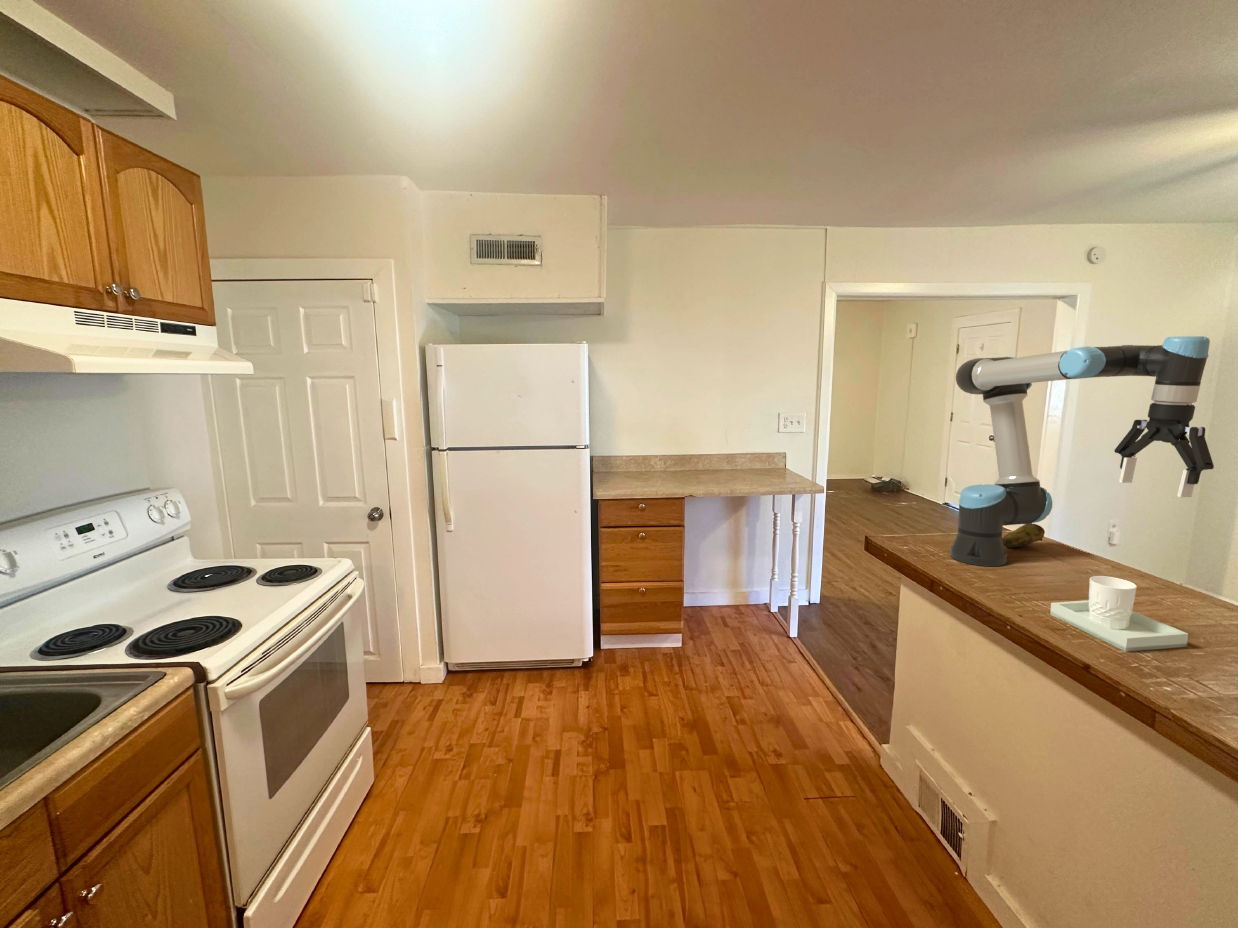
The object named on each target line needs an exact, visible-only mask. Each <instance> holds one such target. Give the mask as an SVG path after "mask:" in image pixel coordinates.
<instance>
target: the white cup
mask: <svg viewBox="0 0 1238 928" xmlns="http://www.w3.org/2000/svg"><path fill="white" fill-rule="evenodd" d="M1088 585H1089V586H1088V587H1089V588H1088V600H1089V619H1092V620H1094V621H1096V622H1098V623H1100V624H1102V625H1104V626H1107V627H1109V628H1111V629H1126V628H1128V627H1129V621H1130V616H1131V614H1132V611H1133V609H1134V604H1135V598H1136V593H1137V589H1138V588H1137V587H1138V586H1137V585H1136V584H1135V583H1134V582H1132V581H1130V580H1126V579H1124V578H1123V579H1122V578H1117V577H1114V576H1106V575H1105V576H1104V575H1093V576H1091V577H1090V578H1089V583H1088Z"/></svg>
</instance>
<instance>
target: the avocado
mask: <svg viewBox="0 0 1238 928" xmlns="http://www.w3.org/2000/svg"><path fill="white" fill-rule="evenodd" d="M1045 533H1046V531H1045V529H1044V527H1042V526H1041V525H1039V524H1036V523H1031V524H1022V526H1019V527H1017V528H1016V529H1015V530H1013V531H1011V532H1009V533H1007V534H1005V535H1004V536H1002V540H1003V543H1004V547H1005V548H1006V549H1007V548H1008V549H1009V548H1010V549H1011V548H1012V549H1013V548H1022V547H1025V546H1026V547H1027V546H1028V545H1031V544H1033V543H1037V542H1039V541H1040V542H1042V541H1043V539H1044V537H1045Z"/></svg>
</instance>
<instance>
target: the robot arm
mask: <svg viewBox="0 0 1238 928" xmlns="http://www.w3.org/2000/svg"><path fill="white" fill-rule="evenodd" d="M1210 342H1211V340H1210V338H1209V337H1207V336H1204V335H1203V336H1195V335H1192V336H1188V335H1187V336H1169V337H1168V336H1167V337H1166V338H1165V339H1164V340H1163V343H1162V344H1161V345H1159V344H1158V345H1150V344H1149V345H1147V344H1146V345H1139V344H1135V345H1133V344H1122V345H1114V346H1112V345H1110V346H1081V347H1080V346H1079V347H1075V348H1071V349H1069V350H1061V351H1055V352H1047V353H1042V354H1034V355H1028V356H1026V355H1025V356H1021V357H1020V356H1019V357H1016V356H1015V357H1014V356H1013V357H1012V356H1003V357H1002V356H1000V357H999V356H998V357H981V358H980V357H978V358H973V359H970V360H967V361H965V362H964V363H962V364H961V365H960V366H959V367H958V369H957V371H956V374H955V382H956V385H957V386H958V388H959V389H960V390H961V391H962V392H964V393H967V394H970V395H982V400H983V403H985V404H987V405H988V407H989V411H990V417H991V425H992V431H993V440H994V446H995V447H994V448H995V454H996V464H997V470H998V477H999V478H998V479H997V480H996V481H995V482H994V484H987V483H986V484H973V485H969V486H966V487H964V488H963V489H962V490H961V492H960V496H959V499H958V506H959V507H958V524H957V533H956V535H955V538H954V540H953V542H952V545H951V546H950V549H949V556H950V557H951V558H952V559H953V560H955V561H957V562H961V563H963V564H969V565H974V566H980V567H981V566H982V567H1001V566H1004V565H1007V563H1008V553H1007V551H1006V546H1004V543H1003V540H1002V538H1003V527H1004V526H1015V525H1016V526H1017V525H1025V524H1031V523H1032V524H1036V523H1039V522H1042V521H1043V520H1045V519H1047V517H1048V516H1049V515H1050V514H1051V511H1052V509H1053V498H1052V495H1051V493H1050V492H1048V491H1047V489H1046V488H1045V487H1042V486H1041V482H1040V481H1041V480H1039V479H1038V478H1037V477H1035V476H1034V475H1033V469H1032V462H1031V455H1030V454H1031V453H1030V446H1029V441H1028V433H1027V425H1026V419H1025V411H1024V404H1023V403H1024V402H1023V401H1024V400H1025V399H1026V398H1027V397H1028V390H1029V389H1030V388H1032V385H1033V383H1043V382H1054V381H1066V380H1079V379H1089V378H1091V379H1092V378H1105V377H1106V378H1107V377H1109V378H1110V377H1132V376H1133V377H1154V378H1155V380H1154V385H1153V390H1152V393H1151V396H1150V398H1151V399H1150V400H1151V401H1153V402H1151V403H1150V404H1149V407H1148V408H1149V409H1148V412H1147V418H1148V419H1134V421H1133V422H1132V423H1133V424H1132V426H1131V428H1130V430H1129V431H1128V432H1127V434H1125V436H1124V437H1123V438H1122V439H1121V441H1120V442H1119V443H1118V445H1117V446H1116V448H1114V450H1113V451H1114V453H1115V454H1118V455H1120V457H1121V460H1120V465H1119V468H1120V469H1121V472H1120V476H1119V480H1118V482H1119V483H1121V484H1127V483H1128V484H1130V483H1132V482H1133V478H1134V475H1135V469H1136V465H1137V460H1138V457H1136V456H1137V454H1139V453H1141V451H1142V450H1143V449H1145V448H1147V447H1148V446H1149V445H1150V444H1152V443H1154V442H1162V443H1169V444H1171V446H1173V447H1174V448H1175V449H1176V452H1177V453H1178V455H1179V456H1180V458H1181V459H1182V462H1183V463H1184V464H1185V466H1186V467H1187V468H1185V469H1182V470H1183V471H1182V474H1181V478H1180V483H1179V487H1178V490H1177V495H1176V497H1178V498H1192V497H1193V493H1194V492H1193V491H1194V488H1195V485H1198V484H1199V482H1200V477H1201V474H1202V471H1207V470H1208V471H1209V470H1213V469H1214V468H1215V467H1214V462H1213V459H1212V456H1211V452H1210V449H1209V446H1208V442H1207V440H1206V428H1205V427H1204V426H1190V422H1191V421H1192V420H1193V418H1194V414H1195V411H1196V405H1194V403H1197V401H1198V397H1199V392H1200V388H1201V383H1202V378H1203V374H1204V370H1205V367H1206V363H1207V360H1208V358H1209V350H1210V345H1211V344H1210ZM1145 430H1147V431H1146V432H1145ZM1144 432H1145V433H1144ZM1143 433H1144V434H1143ZM1187 436H1188V437H1187Z"/></svg>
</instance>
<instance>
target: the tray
mask: <svg viewBox="0 0 1238 928" xmlns="http://www.w3.org/2000/svg"><path fill="white" fill-rule="evenodd" d="M1049 615H1051V616H1053V617H1054V618H1055V619H1058V620H1061V621H1063V622H1064V623H1067V624H1069V625H1071V626H1073V627H1075V628H1077V629H1079V630H1081V631H1083V632H1085V633H1087V634H1089V635H1091V636H1093V637H1095V638H1097V639H1099V640H1101V641H1104V642H1105V643H1107V644H1109V645H1111V646H1113V647H1115V648H1118V649H1119V650H1121V651H1124V652H1126V653H1127V652H1137V651H1139V652H1140V651H1152V650H1162V649H1176V648H1187V647H1188V646H1187V645H1188V640H1189V639H1188V638H1189V633H1187V632H1186V631H1183V630H1180V629H1178V628H1176V627H1173V626H1171V625H1170V624H1166V623H1163V622H1162V621H1159V620H1156V619H1154V618H1152V617H1150V616H1146V615H1144V614H1141V613H1139V612H1137V611H1136V610H1132V614H1131V616H1130V621H1129V627H1128V628H1126V629H1111V628H1109V627H1107V626H1104V625H1102V624H1100V623H1098V622H1096V621H1094V620H1092V619H1089V599H1087V600H1075V601H1074V600H1073V601H1060V602H1059V601H1057V602H1056V601H1055V602H1051V603H1050V613H1049Z"/></svg>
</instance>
